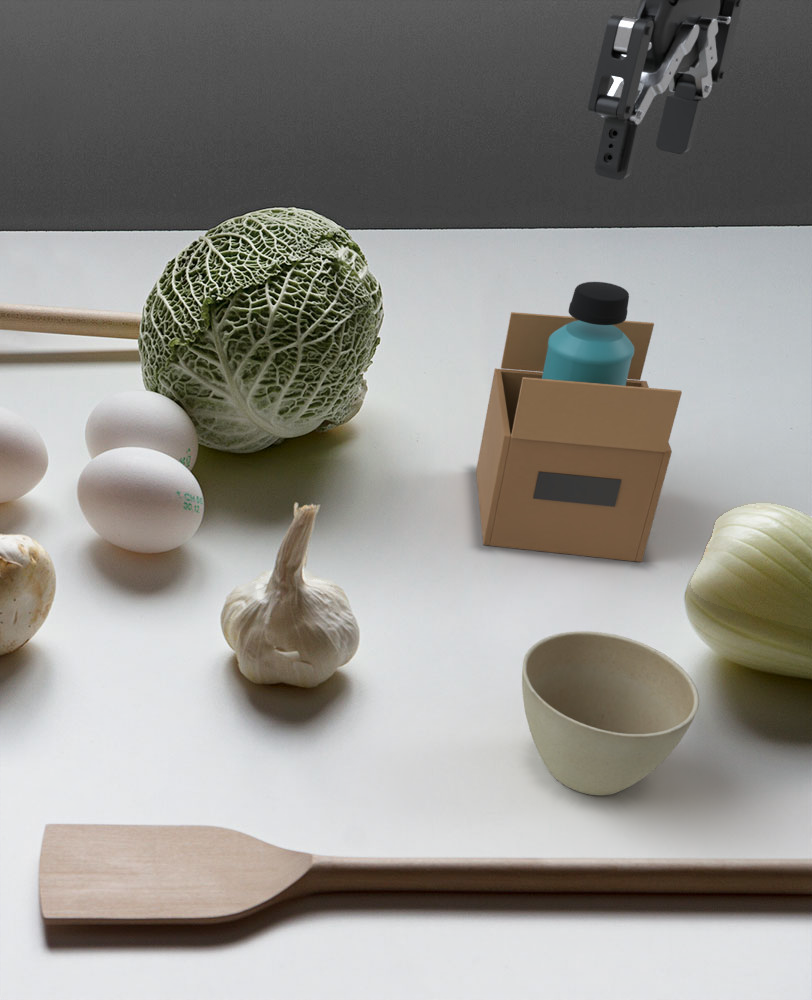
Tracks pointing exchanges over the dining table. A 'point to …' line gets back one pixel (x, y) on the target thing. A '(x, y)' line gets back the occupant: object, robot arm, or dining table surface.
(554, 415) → the carton
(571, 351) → the beverage bottle
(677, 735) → the beige bowl
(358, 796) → the dining table surface
